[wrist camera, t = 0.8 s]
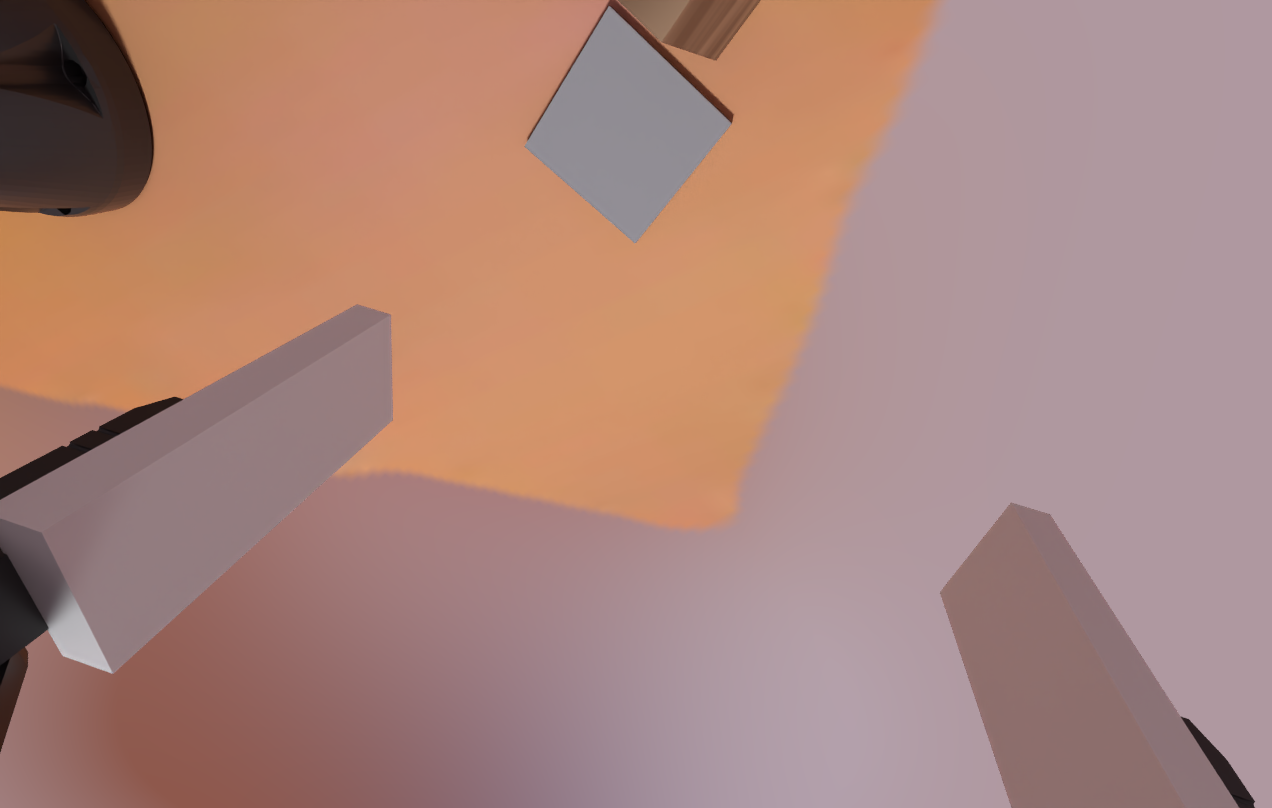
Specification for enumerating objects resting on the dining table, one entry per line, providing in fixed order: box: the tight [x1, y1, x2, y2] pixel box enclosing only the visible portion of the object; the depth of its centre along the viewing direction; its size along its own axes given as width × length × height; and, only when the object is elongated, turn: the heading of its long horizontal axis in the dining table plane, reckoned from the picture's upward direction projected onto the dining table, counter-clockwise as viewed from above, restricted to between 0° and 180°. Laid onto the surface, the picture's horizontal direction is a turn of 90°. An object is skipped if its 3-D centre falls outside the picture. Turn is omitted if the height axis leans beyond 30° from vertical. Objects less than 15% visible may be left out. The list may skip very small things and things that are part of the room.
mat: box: [524, 6, 732, 243], centre depth 30 cm, size 8×8×1 cm
